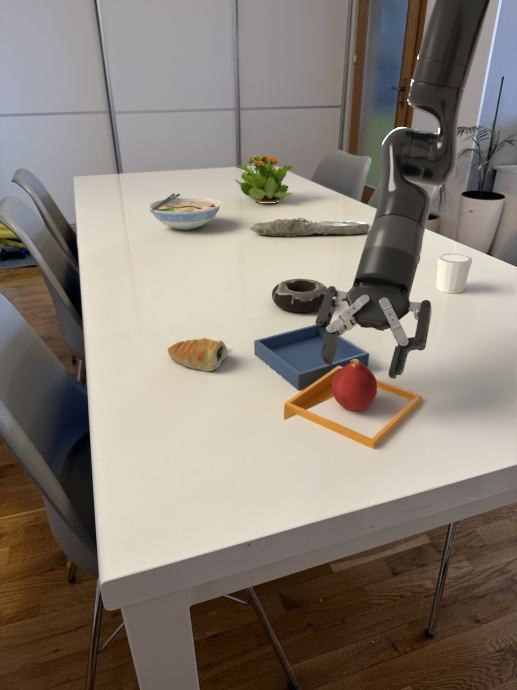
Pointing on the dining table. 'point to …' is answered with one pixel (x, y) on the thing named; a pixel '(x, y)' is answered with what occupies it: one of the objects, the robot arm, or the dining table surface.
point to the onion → (354, 386)
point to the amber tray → (323, 392)
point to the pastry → (199, 353)
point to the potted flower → (264, 180)
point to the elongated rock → (309, 227)
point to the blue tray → (305, 355)
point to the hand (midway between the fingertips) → (358, 369)
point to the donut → (299, 295)
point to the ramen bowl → (185, 211)
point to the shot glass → (452, 272)
